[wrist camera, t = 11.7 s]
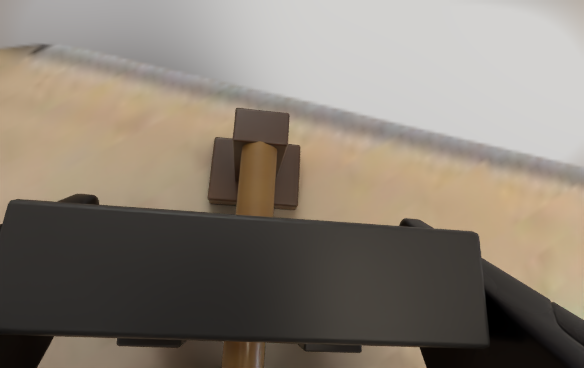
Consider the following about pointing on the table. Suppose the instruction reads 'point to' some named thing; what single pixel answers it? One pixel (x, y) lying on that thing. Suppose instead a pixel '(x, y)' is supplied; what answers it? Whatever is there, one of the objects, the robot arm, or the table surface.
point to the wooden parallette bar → (254, 188)
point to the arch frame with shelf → (236, 279)
